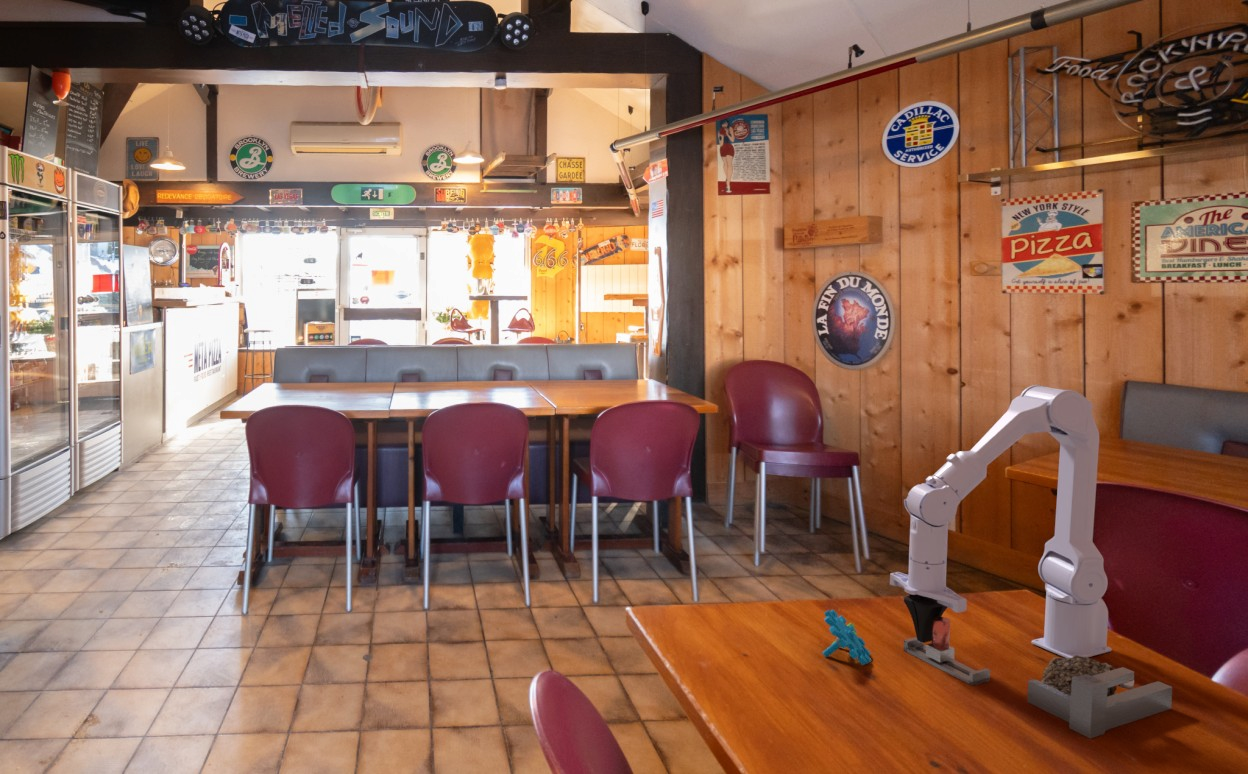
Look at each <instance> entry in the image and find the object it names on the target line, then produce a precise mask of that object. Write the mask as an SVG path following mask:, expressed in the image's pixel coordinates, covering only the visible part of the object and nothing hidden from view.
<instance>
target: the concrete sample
mask: <svg viewBox="0 0 1248 774" xmlns="http://www.w3.org/2000/svg"><path fill="white" fill-rule="evenodd" d="M1114 669H1117V668H1115V667H1114V666H1113V665H1111V664H1108V663H1107V662H1102V663H1101V662H1100V661H1098V660H1095V659H1092V658H1090V657H1082V656H1079V655H1075V656H1074V657H1072V658H1065V657H1062V658H1061V657H1060V656H1059V657H1057V656H1055V657H1053V658H1052V659H1050V661H1049V662H1048V665H1047V666H1046V667H1045V668H1043V670H1044V671H1043V673H1042V679H1041V680H1040V682H1042V683H1044V684H1046V685H1048V686H1050V687H1053V688H1055V689H1057V690H1059V691H1061V692H1063V693H1065V694H1068V695H1070V696H1071V685H1072V678H1074V677H1078V676H1081V675H1085V674H1088V675H1090V676H1093V675H1097V674H1100V673H1104V672H1107V671H1111V670H1114ZM1117 686H1118V685H1116V686H1113V687H1109V688H1108V691H1107V697H1108V696H1111V695H1114V694H1116V691H1117V690H1118V689H1117Z"/></svg>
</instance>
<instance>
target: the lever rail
mask: <svg viewBox="0 0 1248 774" xmlns="http://www.w3.org/2000/svg"><path fill="white" fill-rule="evenodd" d="M903 651H904V652H905V653H907V654H910V655H911V656H914V657H916V658H917V659H919V660H921V661H923V662H925V663H927V664H929V665H931V666H933V667H935V668H937V669H939V670H941V671H942V672H945V673H947V674H948V675H951V676H953V677H955V678H956V679H959V680H960V681H963V682H964V683H966V684H967V685H970V686H976V685H981V684H984V683H988V682H990V679H991V678H990V677H991V669H989V668H987V667H986V668H983V669H978V670H975V669H973V668H971V667H970V666H967V665H965V664H963V663H961V662H959V661H958V660H955V659H952V660H948V661H944V662H938V661H936V660H934V659H932V658H930V657H928V656H926V644H925V643H922V642H920V641H918V640H917V636H915V637H911V638H908V639H904V640H903Z"/></svg>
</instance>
